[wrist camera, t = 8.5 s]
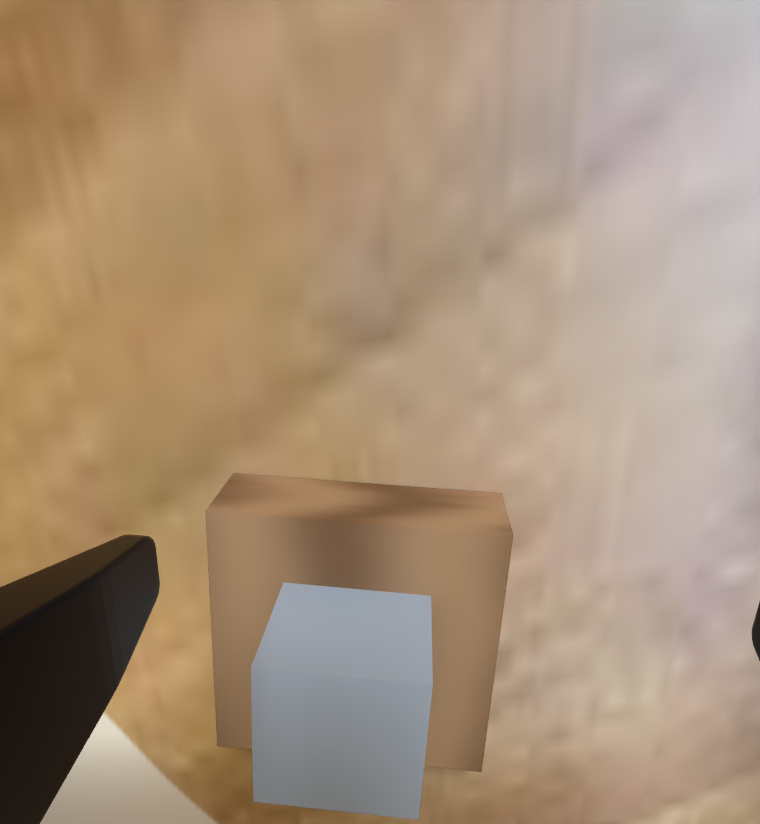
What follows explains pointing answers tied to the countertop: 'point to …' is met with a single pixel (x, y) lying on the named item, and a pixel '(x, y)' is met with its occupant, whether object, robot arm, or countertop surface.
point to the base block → (363, 585)
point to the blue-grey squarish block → (343, 701)
